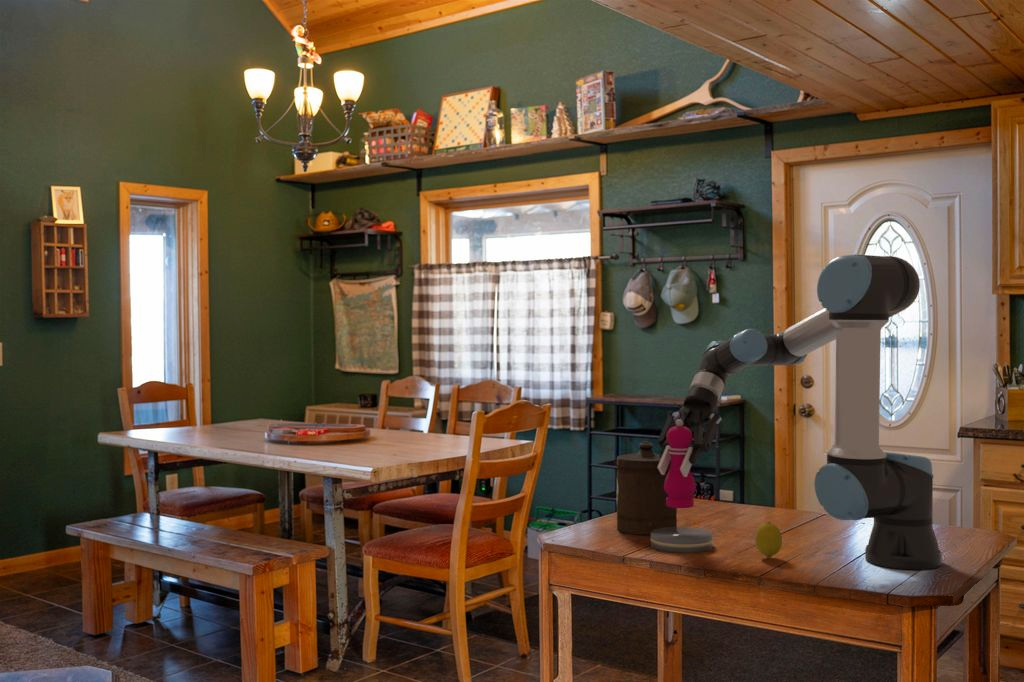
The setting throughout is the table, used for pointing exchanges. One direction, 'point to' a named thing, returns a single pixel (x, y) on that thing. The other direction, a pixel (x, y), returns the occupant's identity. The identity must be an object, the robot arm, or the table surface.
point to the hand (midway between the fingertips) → (672, 471)
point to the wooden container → (642, 493)
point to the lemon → (768, 539)
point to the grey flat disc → (681, 539)
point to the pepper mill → (675, 481)
